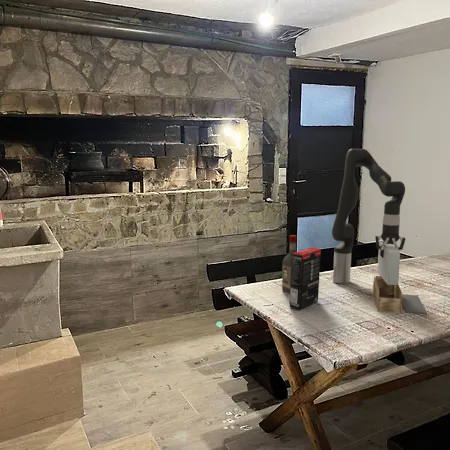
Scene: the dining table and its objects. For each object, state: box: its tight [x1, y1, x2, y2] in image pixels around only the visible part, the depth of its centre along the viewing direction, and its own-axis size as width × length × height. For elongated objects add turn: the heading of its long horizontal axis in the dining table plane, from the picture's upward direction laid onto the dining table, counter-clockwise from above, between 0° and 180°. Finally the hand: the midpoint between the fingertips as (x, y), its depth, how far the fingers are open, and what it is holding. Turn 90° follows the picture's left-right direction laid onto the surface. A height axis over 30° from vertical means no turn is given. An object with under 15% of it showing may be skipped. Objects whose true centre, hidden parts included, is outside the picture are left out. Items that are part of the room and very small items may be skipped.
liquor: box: [281, 234, 297, 294], centre depth 239 cm, size 9×9×30 cm
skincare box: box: [377, 241, 401, 285], centre depth 220 cm, size 21×6×16 cm, turn 174°
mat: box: [402, 293, 428, 315], centre depth 220 cm, size 9×25×1 cm, turn 167°
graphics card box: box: [288, 247, 322, 311], centre depth 218 cm, size 17×7×27 cm, turn 139°
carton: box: [372, 275, 403, 314], centre depth 222 cm, size 11×27×10 cm, turn 167°
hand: (388, 257), depth 219 cm, fingers closed on skincare box, 5 cm apart
